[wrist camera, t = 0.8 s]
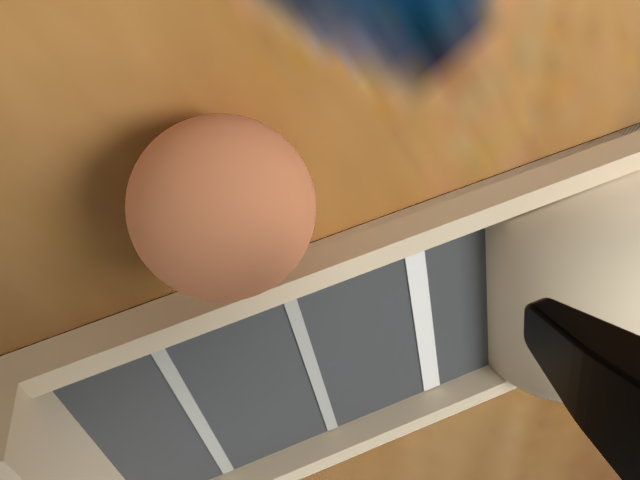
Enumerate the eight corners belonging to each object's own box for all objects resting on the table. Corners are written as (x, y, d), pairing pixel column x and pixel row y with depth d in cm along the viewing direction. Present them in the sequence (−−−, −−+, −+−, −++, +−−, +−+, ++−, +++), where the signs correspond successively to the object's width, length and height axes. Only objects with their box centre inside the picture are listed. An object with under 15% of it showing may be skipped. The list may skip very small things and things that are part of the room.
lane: (577, 270, 31) (698, 374, 24) (125, 449, 27) (129, 623, 21) (597, 85, 24) (771, 162, 18) (5, 293, 21) (-42, 478, 14)
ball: (304, 207, 18) (356, 299, 14) (162, 258, 18) (176, 368, 14) (266, 64, 15) (319, 131, 11) (93, 120, 15) (84, 210, 11)
